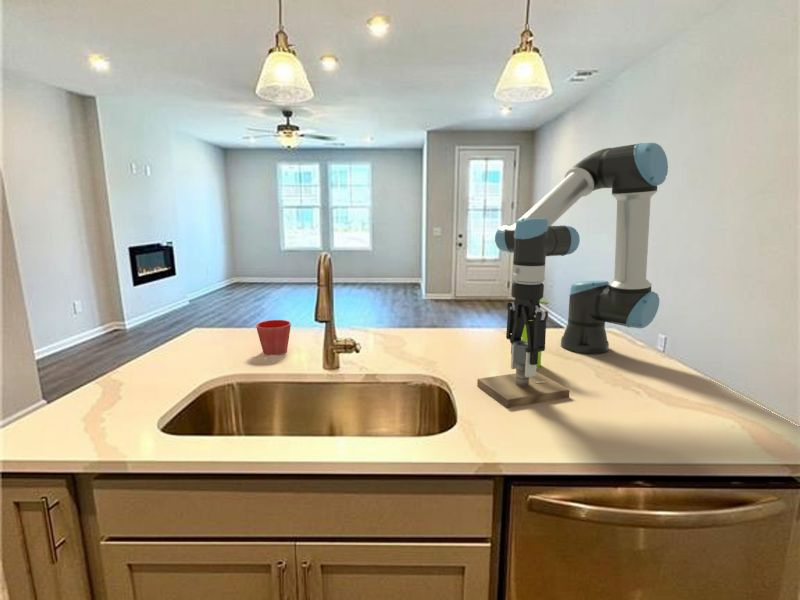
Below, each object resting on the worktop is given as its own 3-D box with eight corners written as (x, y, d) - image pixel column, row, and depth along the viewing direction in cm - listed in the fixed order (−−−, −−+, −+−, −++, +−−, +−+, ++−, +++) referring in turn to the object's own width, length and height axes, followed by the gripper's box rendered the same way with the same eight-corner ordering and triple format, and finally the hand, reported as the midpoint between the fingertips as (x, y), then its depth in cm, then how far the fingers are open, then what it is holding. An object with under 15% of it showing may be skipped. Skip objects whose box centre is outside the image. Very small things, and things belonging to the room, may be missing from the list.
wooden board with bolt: (534, 377, 118) (535, 350, 117) (569, 397, 105) (571, 366, 104) (477, 385, 112) (478, 357, 111) (507, 407, 100) (508, 375, 98)
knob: (507, 360, 107) (508, 342, 106) (517, 355, 111) (517, 338, 110) (530, 365, 104) (531, 347, 103) (539, 360, 107) (540, 342, 106)
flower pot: (284, 357, 136) (282, 328, 134) (252, 355, 138) (250, 326, 136) (297, 347, 146) (295, 320, 144) (267, 346, 148) (265, 319, 146)
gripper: (494, 277, 111) (491, 362, 115) (538, 288, 94) (532, 387, 98) (518, 276, 113) (514, 359, 118) (566, 286, 96) (559, 383, 101)
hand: (522, 371), depth 108 cm, fingers open, 5 cm apart
